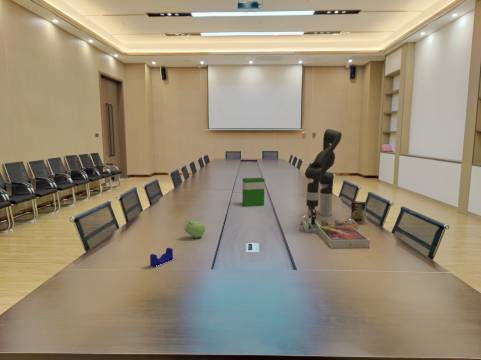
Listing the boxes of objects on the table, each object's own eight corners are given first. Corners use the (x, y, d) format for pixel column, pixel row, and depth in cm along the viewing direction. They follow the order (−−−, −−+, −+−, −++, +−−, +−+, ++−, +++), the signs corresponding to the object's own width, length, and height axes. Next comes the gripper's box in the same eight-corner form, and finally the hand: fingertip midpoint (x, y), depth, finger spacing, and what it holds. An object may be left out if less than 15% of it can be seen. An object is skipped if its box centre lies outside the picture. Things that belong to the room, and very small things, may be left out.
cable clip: (166, 258, 170) (166, 247, 169) (172, 260, 168) (172, 248, 167) (148, 266, 160) (147, 254, 159) (154, 268, 158) (154, 256, 157)
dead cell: (345, 227, 221) (345, 216, 220) (351, 227, 221) (352, 217, 220) (347, 229, 217) (347, 218, 216) (354, 229, 217) (354, 218, 216)
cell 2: (307, 226, 222) (307, 216, 221) (314, 226, 222) (314, 216, 221) (308, 228, 217) (309, 218, 216) (315, 228, 217) (316, 218, 216)
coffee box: (350, 224, 232) (351, 202, 230) (351, 222, 237) (353, 200, 235) (364, 226, 228) (365, 203, 225) (365, 224, 233) (366, 201, 231)
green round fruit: (196, 233, 211) (196, 216, 209) (207, 237, 203) (207, 220, 201) (180, 237, 203) (180, 220, 201) (191, 242, 195) (191, 223, 193)
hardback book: (261, 203, 299) (261, 177, 296) (264, 205, 292) (264, 178, 289) (242, 205, 294) (242, 178, 291) (245, 206, 287) (245, 179, 284)
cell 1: (299, 223, 235) (300, 214, 234) (306, 223, 234) (306, 214, 233) (300, 225, 230) (301, 215, 229) (307, 225, 230) (307, 215, 229)
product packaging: (331, 249, 185) (331, 240, 184) (317, 233, 213) (317, 226, 212) (369, 248, 186) (369, 239, 185) (350, 233, 214) (350, 225, 213)
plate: (325, 225, 222) (325, 224, 222) (334, 225, 222) (334, 224, 222) (327, 228, 216) (327, 226, 216) (337, 228, 216) (337, 226, 216)
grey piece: (302, 227, 225) (302, 219, 224) (355, 227, 225) (356, 219, 224) (305, 232, 214) (305, 223, 214) (361, 232, 214) (361, 223, 213)
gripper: (320, 201, 210) (319, 225, 212) (315, 196, 224) (315, 220, 226) (308, 200, 210) (307, 225, 212) (304, 196, 224) (304, 219, 226)
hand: (311, 222), depth 219 cm, fingers open, 8 cm apart
